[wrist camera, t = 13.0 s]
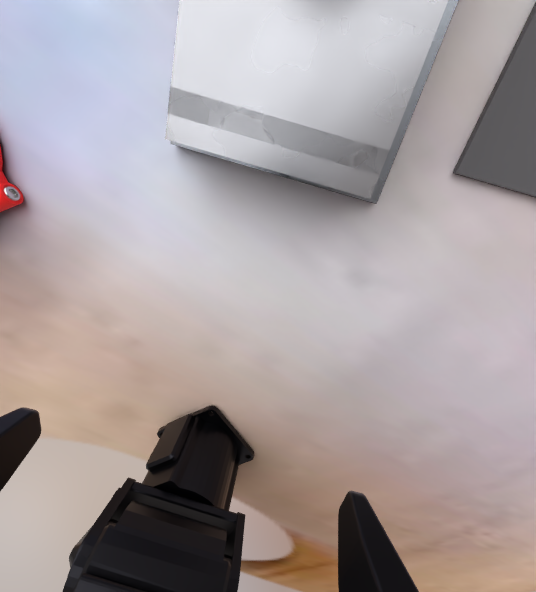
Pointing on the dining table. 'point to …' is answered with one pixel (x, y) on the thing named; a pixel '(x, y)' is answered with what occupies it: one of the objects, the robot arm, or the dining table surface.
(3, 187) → the tow hook
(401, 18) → the windowed slide housing
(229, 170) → the dining table surface
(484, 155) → the rubber mat
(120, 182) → the dining table surface
